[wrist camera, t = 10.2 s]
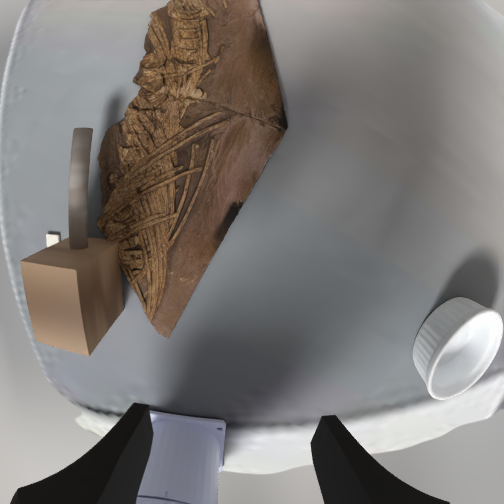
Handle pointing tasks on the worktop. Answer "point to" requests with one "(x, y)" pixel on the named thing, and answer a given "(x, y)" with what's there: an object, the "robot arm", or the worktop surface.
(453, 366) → the ramekin
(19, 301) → the worktop surface
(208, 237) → the wooden fragment
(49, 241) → the strip
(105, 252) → the mallet
